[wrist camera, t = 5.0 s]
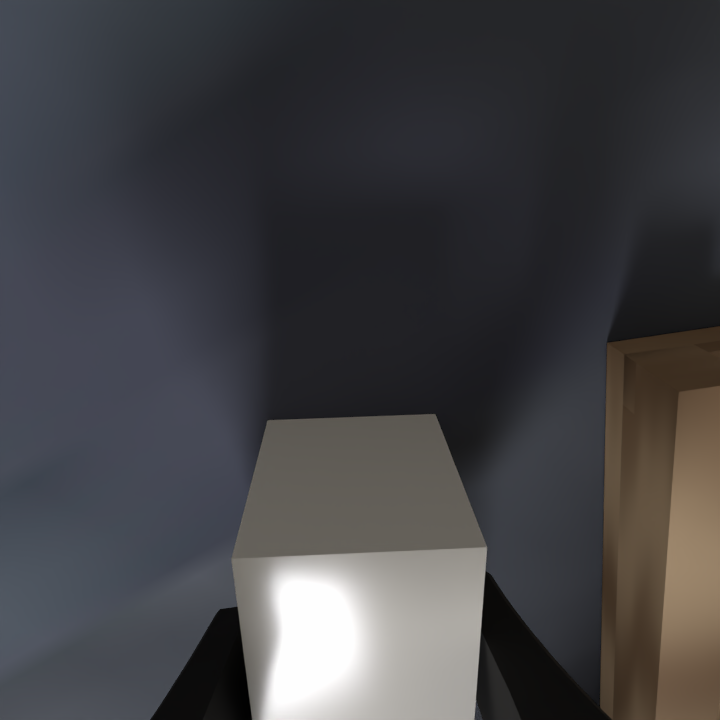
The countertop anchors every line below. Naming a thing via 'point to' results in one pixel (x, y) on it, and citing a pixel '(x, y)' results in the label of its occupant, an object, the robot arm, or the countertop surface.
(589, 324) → the countertop surface
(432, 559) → the light grey rectangular block
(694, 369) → the oak rack
